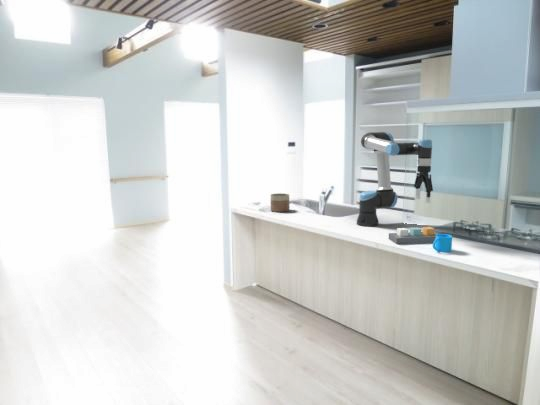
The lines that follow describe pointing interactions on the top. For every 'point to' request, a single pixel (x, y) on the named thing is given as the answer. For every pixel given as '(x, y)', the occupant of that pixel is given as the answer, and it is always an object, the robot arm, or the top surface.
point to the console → (412, 238)
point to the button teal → (415, 231)
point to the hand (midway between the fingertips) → (422, 200)
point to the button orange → (428, 231)
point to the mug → (443, 243)
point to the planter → (280, 202)
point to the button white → (402, 232)
